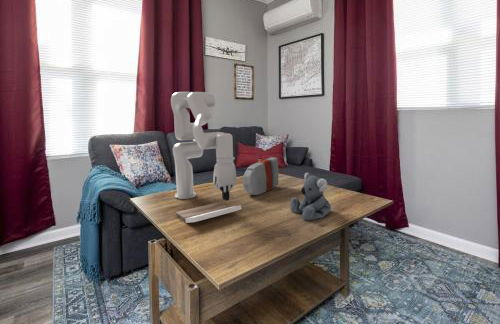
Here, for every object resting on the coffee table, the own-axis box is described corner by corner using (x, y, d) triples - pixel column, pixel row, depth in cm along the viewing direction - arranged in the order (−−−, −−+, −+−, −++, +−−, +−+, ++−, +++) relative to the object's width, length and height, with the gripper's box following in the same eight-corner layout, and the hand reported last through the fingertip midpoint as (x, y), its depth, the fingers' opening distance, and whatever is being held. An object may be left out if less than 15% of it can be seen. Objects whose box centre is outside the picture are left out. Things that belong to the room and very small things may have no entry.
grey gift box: (270, 156, 186) (240, 167, 163) (279, 156, 182) (249, 168, 159) (272, 184, 190) (242, 199, 168) (280, 186, 186) (251, 201, 164)
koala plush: (287, 210, 144) (288, 172, 141) (318, 205, 150) (319, 169, 147) (306, 222, 128) (307, 179, 125) (339, 216, 134) (341, 176, 131)
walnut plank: (175, 216, 138) (175, 212, 137) (218, 205, 152) (218, 202, 152) (184, 222, 130) (184, 218, 129) (229, 210, 144) (229, 206, 144)
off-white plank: (185, 222, 129) (185, 218, 129) (230, 211, 143) (229, 207, 144) (195, 221, 121) (194, 217, 121) (241, 209, 135) (240, 205, 136)
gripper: (233, 158, 138) (234, 194, 141) (206, 161, 129) (207, 201, 132) (242, 159, 132) (243, 198, 136) (214, 163, 123) (216, 205, 127)
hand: (225, 199), depth 134 cm, fingers closed
